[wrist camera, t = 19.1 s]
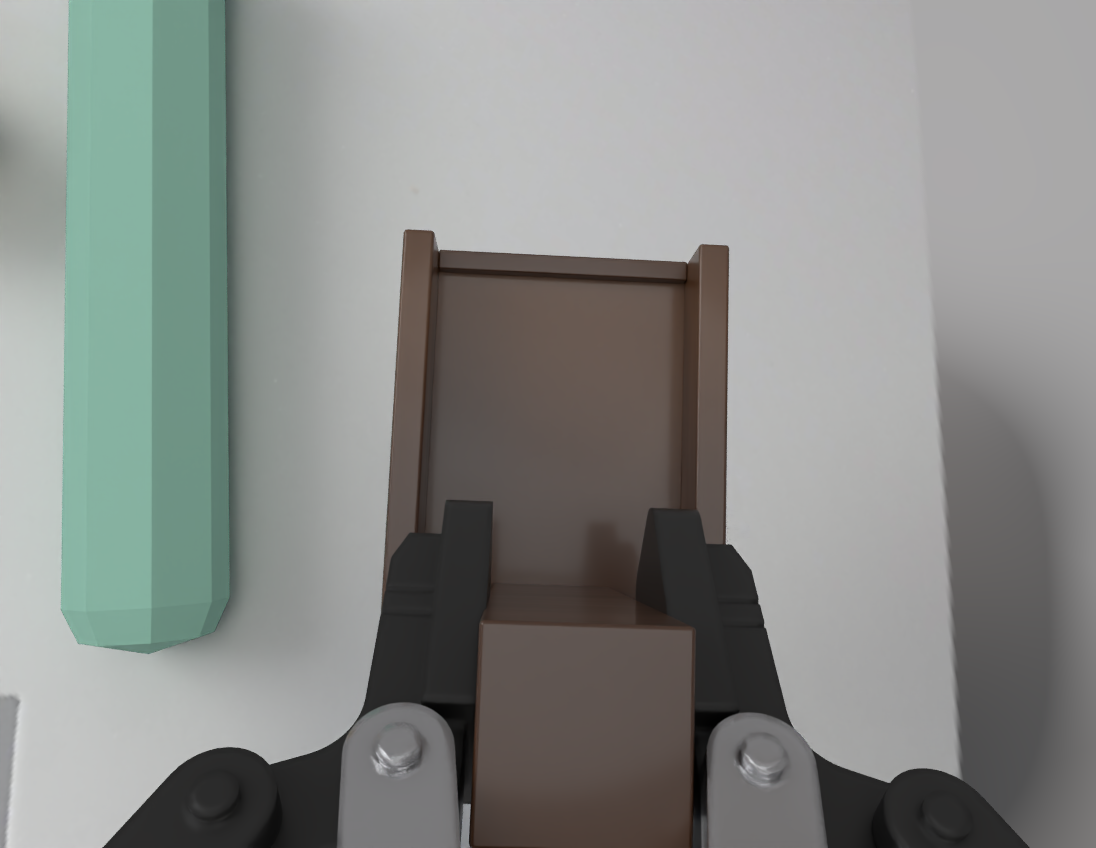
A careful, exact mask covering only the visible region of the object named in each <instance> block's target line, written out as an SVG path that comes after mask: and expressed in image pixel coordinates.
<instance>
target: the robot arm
mask: <svg viewBox="0 0 1096 848" xmlns="http://www.w3.org/2000/svg"><path fill="white" fill-rule="evenodd" d="M492 525H493V501H470V500H446V502H445V509H444V517H443V525H442V533H441V534H436V533H409V534H408V535H407V537H406V538H405V539H404V541H403V542H402V543H401V545H400V546H399V547H398V549H397V550H396V551H395V553H394V554H393V555H392V557H391V560H390V566H389V571H388V577H387V582H386V591H385V593H384V599H383V605H382V614H381V616H380V621H379V627H378V632H377V638H376V643H375V649H374V654H373V660H372V665H371V671H370V677H369V682H368V688H367V693H366V699H365V702H364V706H363V709H362V711H361V713H360V715H359V717H358V718H357V720H356V722H355V723H354V724H353V726H352V727H351V728H350V729H349V730H348V731H347V732H346V733H345V734H344V735H343V736H342V737H340V738H339V739H338V740H336V741H335V742H333V743H332V744H330V745H329V746H327V747H325V748H323V749H321V750H318V751H316V752H313V753H310V754H307V755H303V756H299V757H296V758H292V759H289V760H285V761H281V762H278V763H274V764H271V765H269V764H268V763H267V762H266V761H265V760H264V759H263V758H262V757H260V756H259V755H257V754H256V753H254V752H251V751H249V750H246V749H241V748H233V747H226V748H217V749H213V750H209V751H206V752H203V753H201V754H198V755H196V756H194V757H193V758H191V759H189V760H187V761H186V762H184V763H183V764H182V765H180V766H179V767H178V768H177V769H176V770H175V771H174V772H173V773H171V774H170V776H169V777H168V778H167V779H166V780H165V781H164V782H163V783H162V784H161V785H160V786H159V787H158V789H157V790H156V791H155V792H154V793H153V794H152V795H151V796H150V797H149V798H148V799H147V800H146V801H145V803H144V804H143V805H142V806H141V807H140V808H139V809H138V810H137V811H136V812H135V813H134V814H133V816H132V817H131V818H130V819H129V820H128V821H127V822H126V823H125V824H124V825H123V826H122V827H121V829H120V830H119V831H118V832H117V833H116V834H115V835H114V836H113V837H112V838H111V839H110V840H109V842H108V843H107V844H106V845H105V846H104V847H103V848H461V847H460V842H461V829H462V815H463V804H471V790H472V768H473V746H474V724H475V703H476V681H477V659H478V637H479V623H480V620H481V617H482V614H483V612H484V610H485V609H486V608H487V604H488V601H489V597H490V589H491V561H492ZM636 601H639V602H641V603H643V604H645V605H647V606H649V607H651V608H654V609H656V610H658V611H660V612H662V613H664V614H666V615H668V616H671V617H673V618H675V619H677V620H679V621H681V622H683V623H685V624H688V625H690V626H692V627H694V628H695V630H696V664H695V729H694V795H693V848H1029V847H1028V845H1027V844H1026V843H1025V842H1024V841H1023V840H1022V839H1021V838H1020V837H1019V836H1018V835H1017V834H1016V833H1015V831H1014V830H1013V829H1012V828H1011V827H1010V826H1009V825H1008V824H1007V823H1006V822H1005V821H1004V820H1003V819H1002V817H1001V816H1000V815H999V814H998V813H997V812H996V811H995V810H994V809H993V808H992V807H991V806H990V805H989V803H988V802H987V801H986V800H985V799H984V798H983V797H982V796H981V795H980V794H979V793H978V792H977V791H975V789H973V788H972V787H971V786H969V785H968V784H966V783H965V782H963V781H962V780H960V779H958V778H957V777H954V776H952V775H950V774H948V773H945V772H942V771H938V770H933V769H927V768H926V769H912V770H908V771H905V772H903V773H901V774H899V775H898V776H896V777H895V778H894V779H893V780H892V781H891V783H887V782H884V781H881V780H878V779H875V778H872V777H869V776H866V775H863V774H860V773H857V772H854V771H851V770H847V769H845V768H842V767H840V766H837V765H835V764H833V763H831V762H829V761H827V760H825V759H824V758H823V757H821V756H820V755H818V754H817V753H815V752H814V751H813V750H812V749H811V748H810V747H809V745H808V743H807V742H806V741H805V740H804V738H803V737H802V736H801V735H800V734H799V733H798V732H797V731H796V730H795V729H794V728H793V726H792V724H791V722H790V720H789V717H788V714H787V711H786V707H785V703H784V699H783V695H782V691H781V687H780V683H779V679H778V675H777V671H776V667H775V663H774V659H773V655H772V651H771V647H770V643H769V639H768V635H767V631H766V628H764V619H763V615H762V611H761V607H760V605H758V595H757V591H756V587H755V583H754V579H753V575H752V571H751V569H750V568H749V567H748V566H747V564H746V563H745V562H744V560H743V559H742V558H741V556H740V555H739V554H738V553H737V551H736V550H735V549H734V547H733V546H732V545H726V544H706V541H705V536H704V531H703V526H702V521H701V517H700V513H699V511H698V510H696V509H671V508H650V509H649V511H648V514H647V519H646V525H645V531H644V537H643V543H642V549H641V555H640V560H639V566H638V572H637V579H636Z"/></svg>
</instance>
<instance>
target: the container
mask: <svg viewBox="0 0 1096 848" xmlns="http://www.w3.org/2000/svg"><path fill="white" fill-rule="evenodd" d="M229 598H230V588H229V459H228V329H227V199H226V70H225V0H69V32H68V109H67V186H66V264H65V341H64V418H63V495H62V573H61V611H62V613H63V615H64V617H65V619H66V621H67V623H68V625H69V627H70V629H71V630H72V632H73V634H74V636H75V638H76V640H77V642H78V644H84V645H91V646H97V647H104V648H111V649H118V650H125V651H131V652H138V653H145V654H150V653H153V652H156V651H159V650H162V649H165V648H168V647H171V646H174V645H177V644H180V643H183V642H186V641H189V640H192V639H195V638H198V637H201V636H204V635H206V634H209V633H212V632H214V631H215V629H216V627H217V625H218V622H219V620H220V618H221V616H222V613H223V611H224V609H225V607H226V604H227V602H228V600H229Z"/></svg>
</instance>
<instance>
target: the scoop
mask: <svg viewBox="0 0 1096 848" xmlns="http://www.w3.org/2000/svg"><path fill="white" fill-rule="evenodd" d="M728 291H729V248H728V246H726V245H706V244H702V245H700V246H699V247H698V249H697V250H696V252H695V253H694V255H693V256H692V258H691V260H690V261H689V263H688V264H687V263H686V262H671V261H651V260H631V259H611V258H591V257H571V256H551V255H531V254H511V253H491V252H471V251H451V250H440V251H438V247H437V242H436V238H435V234H434V232H433V231H427V230H405V232H404V237H403V254H402V270H401V287H400V304H399V321H398V337H397V354H396V371H395V387H394V404H393V421H392V438H391V454H390V471H389V488H388V504H387V521H386V538H385V555H384V571H383V588H382V605H383V599H384V593H385V591H386V582H387V577H388V571H389V566H390V560H391V557H392V555H393V554H394V553H395V551H396V550H397V549H398V547H399V546H400V545H401V543H402V542H403V541H404V539H405V538H406V537H407V535H408V534H409V533H436V534H441V533H442V525H443V517H444V509H445V502H446V500H470V501H493V525H492V561H491V589H490V597H489V601H488V604H487V608H486V609H485V610H484V612H483V614H482V617H481V620H480V623H479V637H478V659H477V681H476V703H475V724H474V746H473V768H472V790H471V812H470V833H469V845H470V847H471V848H693V795H694V729H695V664H696V630H695V628H694V627H692V626H690V625H688V624H685V623H683V622H681V621H679V620H677V619H675V618H673V617H671V616H668V615H666V614H664V613H662V612H660V611H658V610H656V609H654V608H651V607H649V606H647V605H645V604H643V603H641V602H639V601H636V579H637V572H638V566H639V560H640V555H641V549H642V543H643V537H644V531H645V525H646V519H647V514H648V511H649V509H650V508H671V509H696V510H698V511H699V513H700V517H701V521H702V526H703V531H704V536H705V541H706V544H726V470H727V381H728ZM382 605H381V614H382Z"/></svg>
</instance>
